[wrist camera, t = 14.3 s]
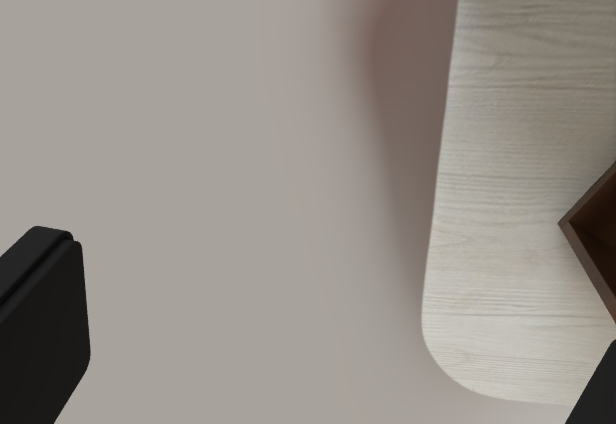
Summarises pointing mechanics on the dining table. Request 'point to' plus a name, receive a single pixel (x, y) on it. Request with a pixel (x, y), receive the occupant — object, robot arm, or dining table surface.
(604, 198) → the cabinet
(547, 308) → the dining table surface
